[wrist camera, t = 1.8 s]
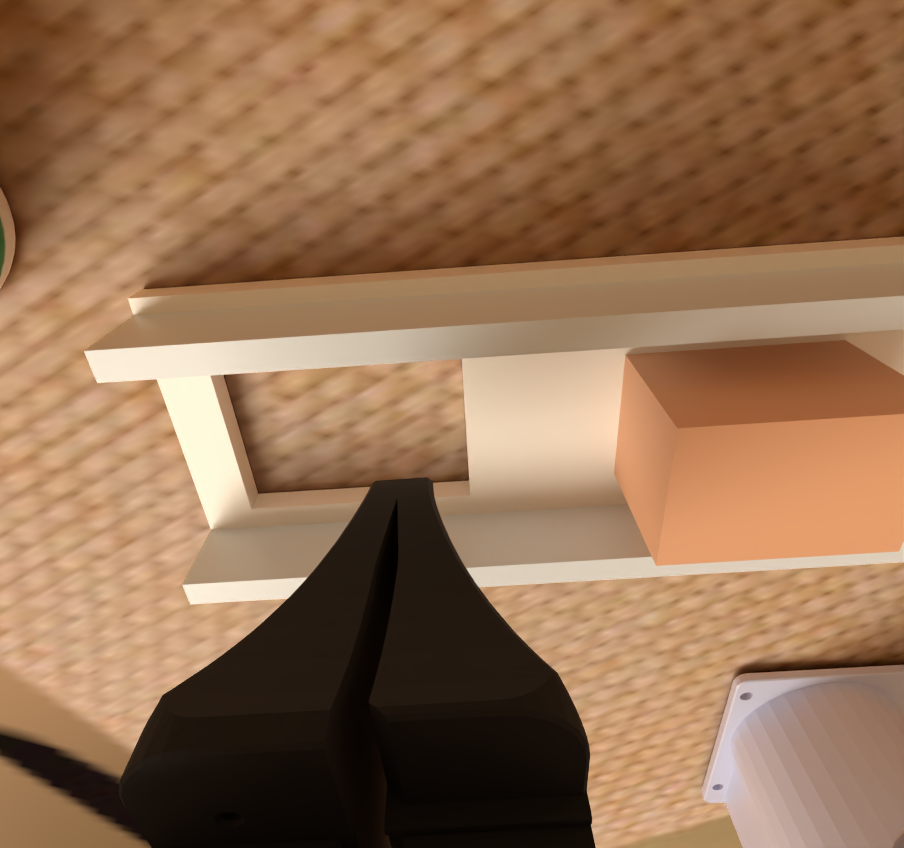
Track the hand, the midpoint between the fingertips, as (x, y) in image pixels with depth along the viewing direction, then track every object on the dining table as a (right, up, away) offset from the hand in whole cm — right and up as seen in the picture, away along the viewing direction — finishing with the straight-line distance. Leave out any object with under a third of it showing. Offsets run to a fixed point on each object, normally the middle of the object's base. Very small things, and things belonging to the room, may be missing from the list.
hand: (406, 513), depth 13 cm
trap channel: (+6, +3, +4) cm, 8 cm away
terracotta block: (+9, +2, +3) cm, 10 cm away
